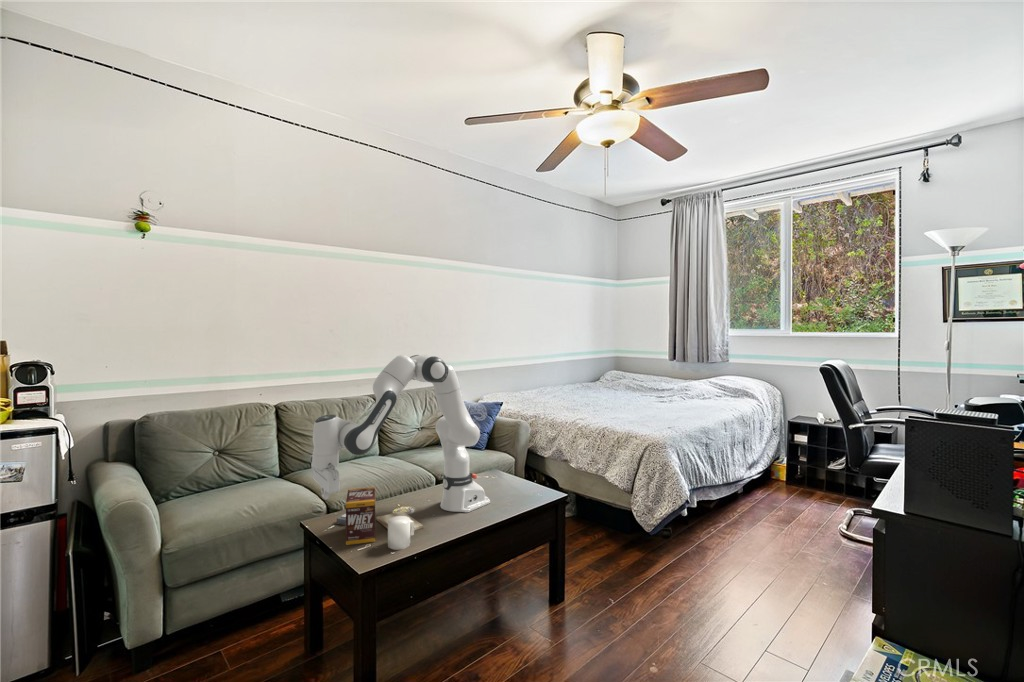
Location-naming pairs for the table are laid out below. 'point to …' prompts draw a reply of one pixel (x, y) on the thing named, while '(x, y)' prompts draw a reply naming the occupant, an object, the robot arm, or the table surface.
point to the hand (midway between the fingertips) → (325, 498)
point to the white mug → (400, 532)
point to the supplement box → (360, 516)
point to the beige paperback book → (385, 518)
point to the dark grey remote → (342, 519)
